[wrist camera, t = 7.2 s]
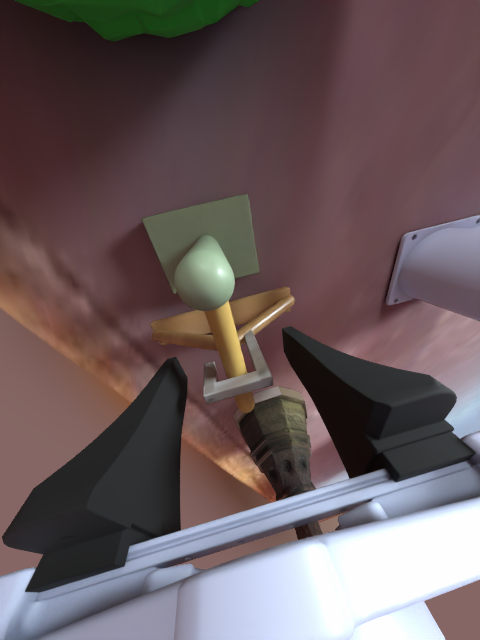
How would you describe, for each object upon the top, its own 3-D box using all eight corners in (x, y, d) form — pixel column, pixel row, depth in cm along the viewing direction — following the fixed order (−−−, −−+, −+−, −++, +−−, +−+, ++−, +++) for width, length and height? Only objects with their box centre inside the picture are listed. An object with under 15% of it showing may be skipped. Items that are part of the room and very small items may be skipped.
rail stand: (245, 195, 14) (345, 115, 4) (265, 326, 20) (322, 427, 10) (145, 218, 13) (-41, 200, 3) (198, 343, 20) (187, 466, 10)
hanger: (289, 285, 16) (363, 338, 9) (290, 307, 18) (357, 371, 10) (149, 321, 16) (94, 414, 8) (160, 342, 17) (122, 439, 9)
